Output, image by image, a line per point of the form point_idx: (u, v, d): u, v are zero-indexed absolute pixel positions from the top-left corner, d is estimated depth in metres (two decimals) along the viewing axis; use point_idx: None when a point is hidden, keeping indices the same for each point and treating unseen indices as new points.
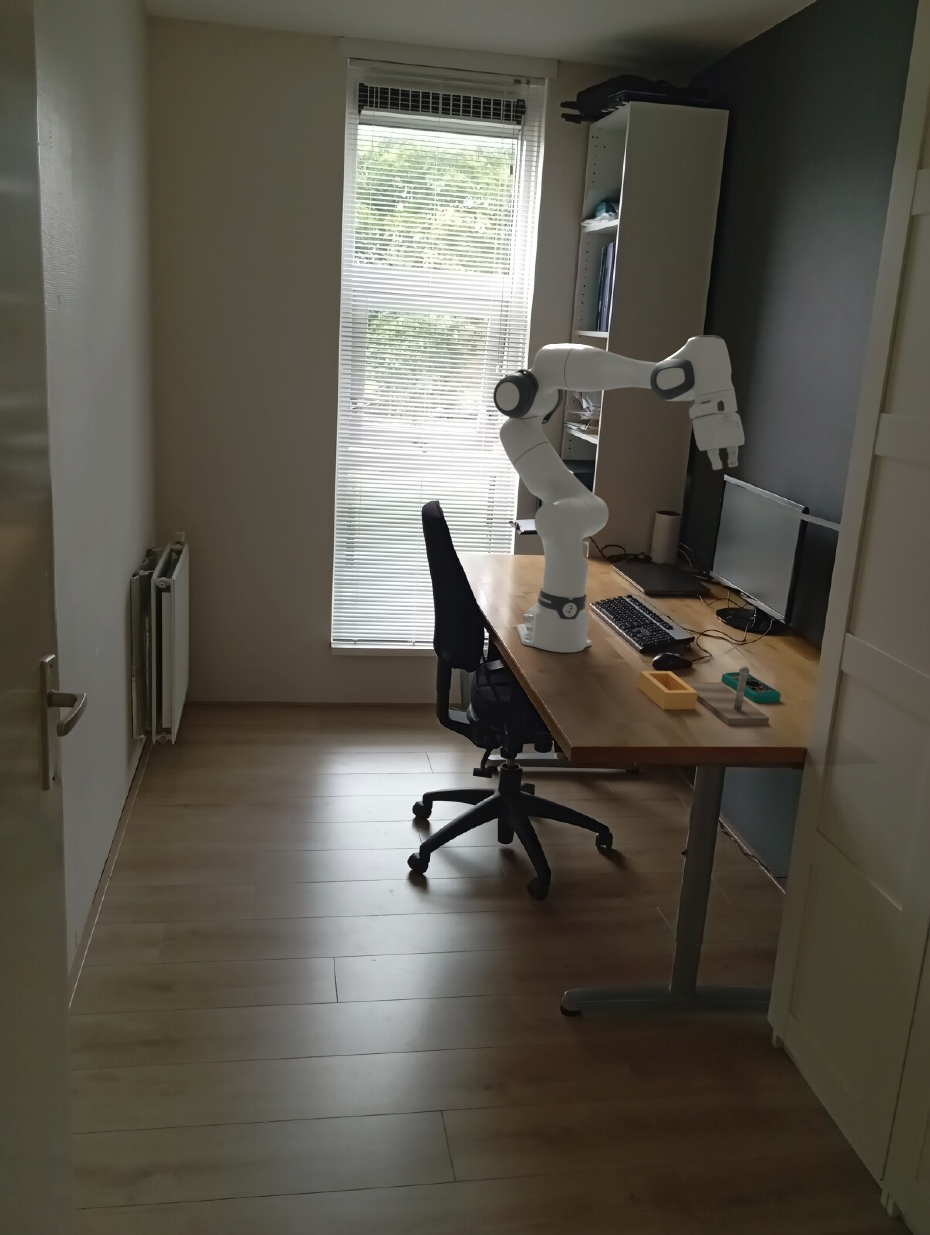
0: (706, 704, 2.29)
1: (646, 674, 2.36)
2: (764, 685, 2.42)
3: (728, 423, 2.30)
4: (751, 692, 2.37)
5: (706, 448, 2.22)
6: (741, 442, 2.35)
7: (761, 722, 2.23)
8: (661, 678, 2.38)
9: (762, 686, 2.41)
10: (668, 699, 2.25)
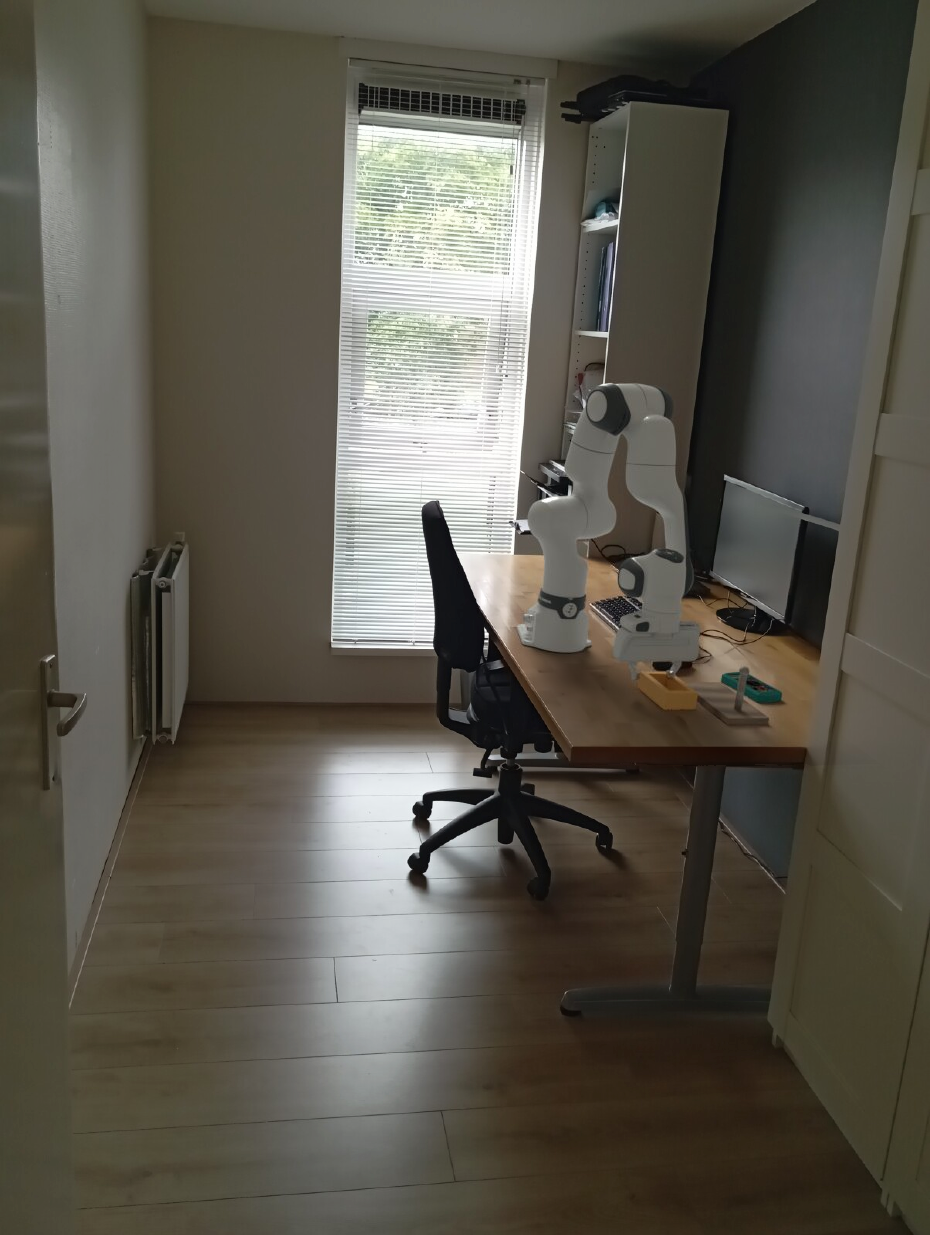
0: (706, 704, 2.29)
1: (646, 674, 2.36)
2: (765, 685, 2.42)
3: (667, 640, 2.31)
4: (754, 692, 2.37)
5: (617, 659, 2.30)
6: (687, 659, 2.33)
7: (761, 722, 2.23)
8: (661, 678, 2.38)
9: (763, 686, 2.42)
10: (669, 699, 2.25)
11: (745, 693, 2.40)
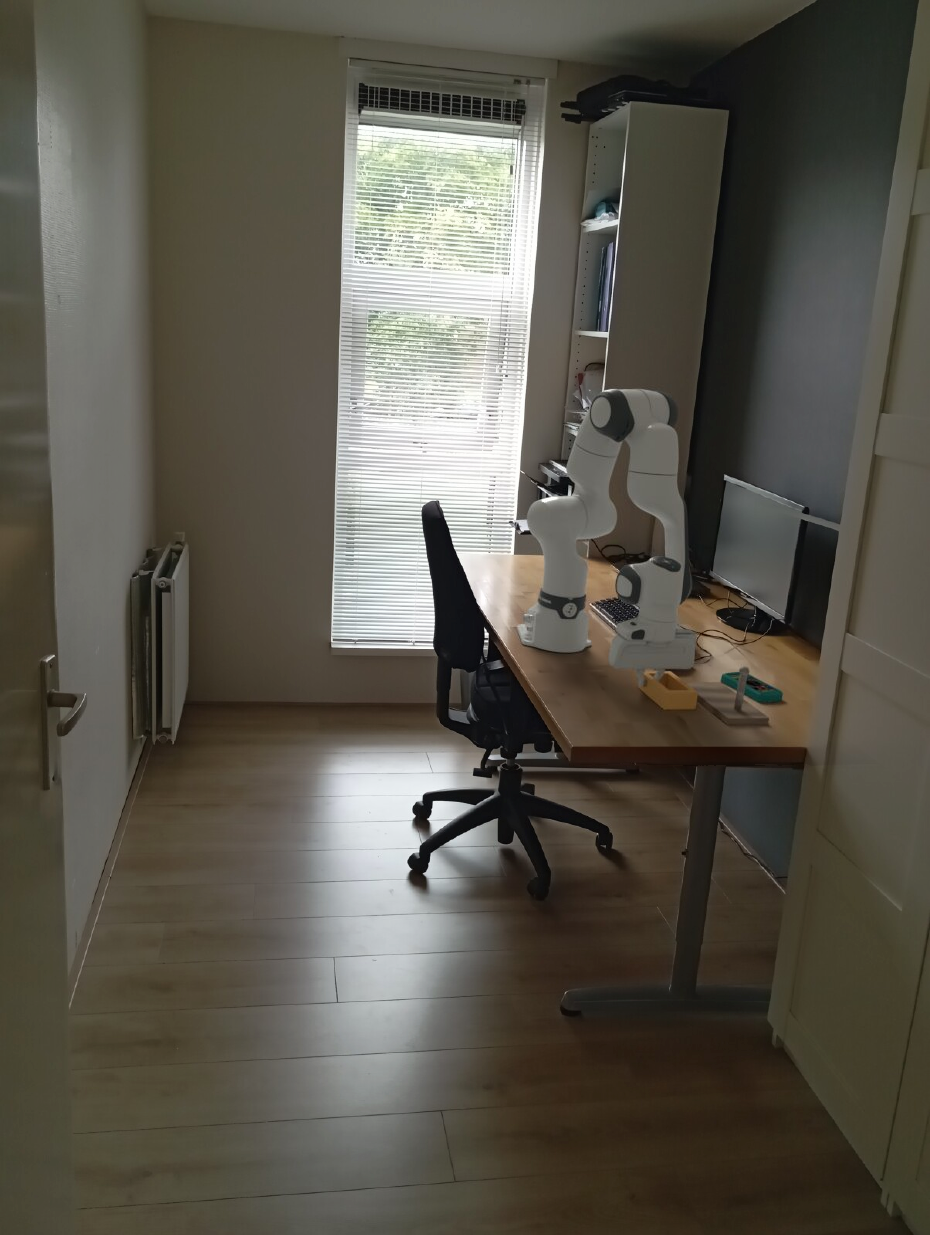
0: (706, 704, 2.29)
1: (646, 674, 2.36)
2: (765, 684, 2.43)
3: (663, 648, 2.32)
4: (755, 692, 2.37)
5: (612, 666, 2.31)
6: (683, 667, 2.34)
7: (761, 722, 2.23)
8: (661, 678, 2.38)
9: (763, 685, 2.42)
10: (668, 699, 2.26)
11: (746, 693, 2.40)
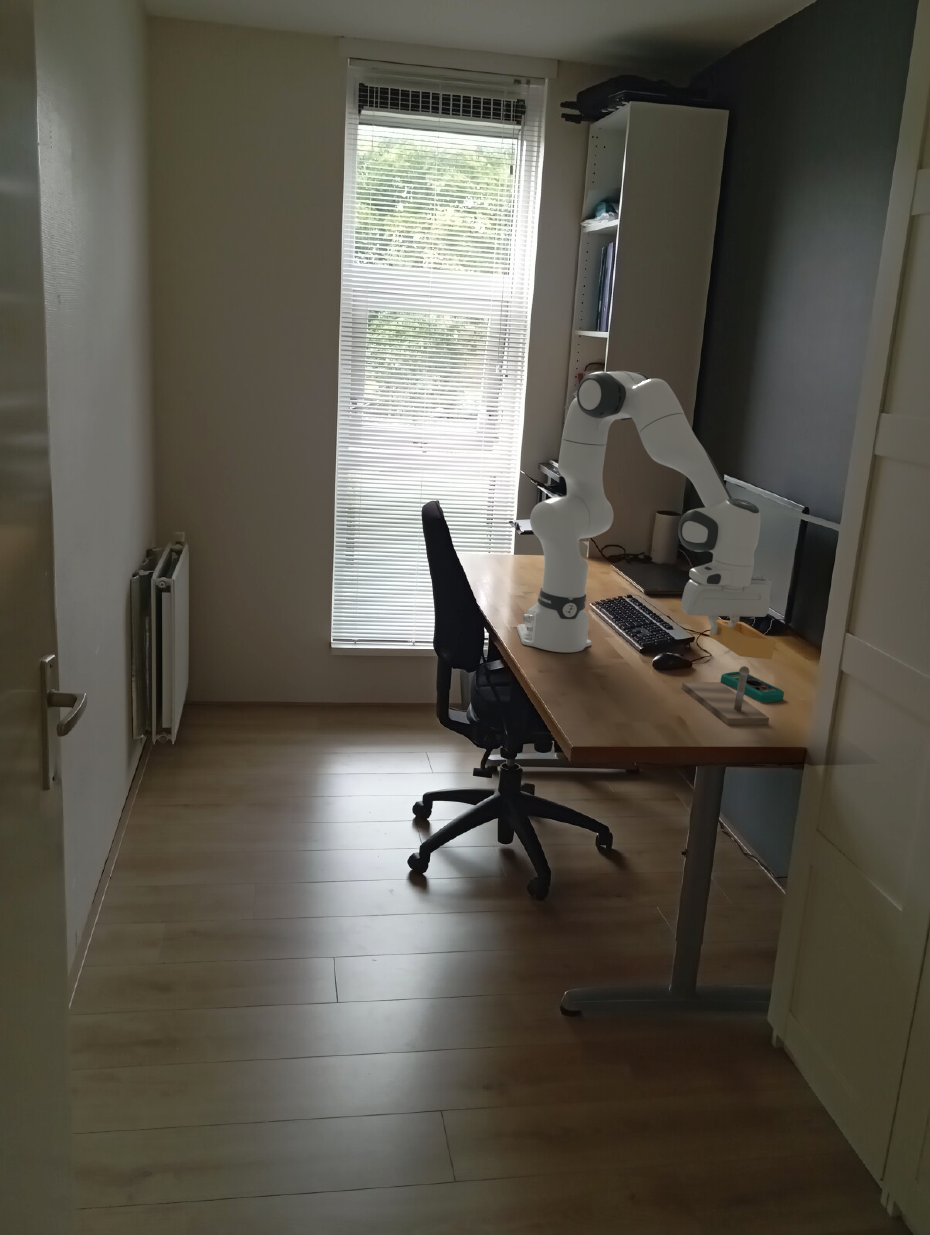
0: (706, 704, 2.29)
1: (720, 622, 2.27)
2: (765, 684, 2.43)
3: (738, 594, 2.23)
4: (757, 692, 2.37)
5: (685, 612, 2.23)
6: (758, 614, 2.26)
7: (761, 722, 2.23)
8: (734, 628, 2.30)
9: (764, 685, 2.42)
10: (746, 646, 2.17)
11: (747, 693, 2.40)
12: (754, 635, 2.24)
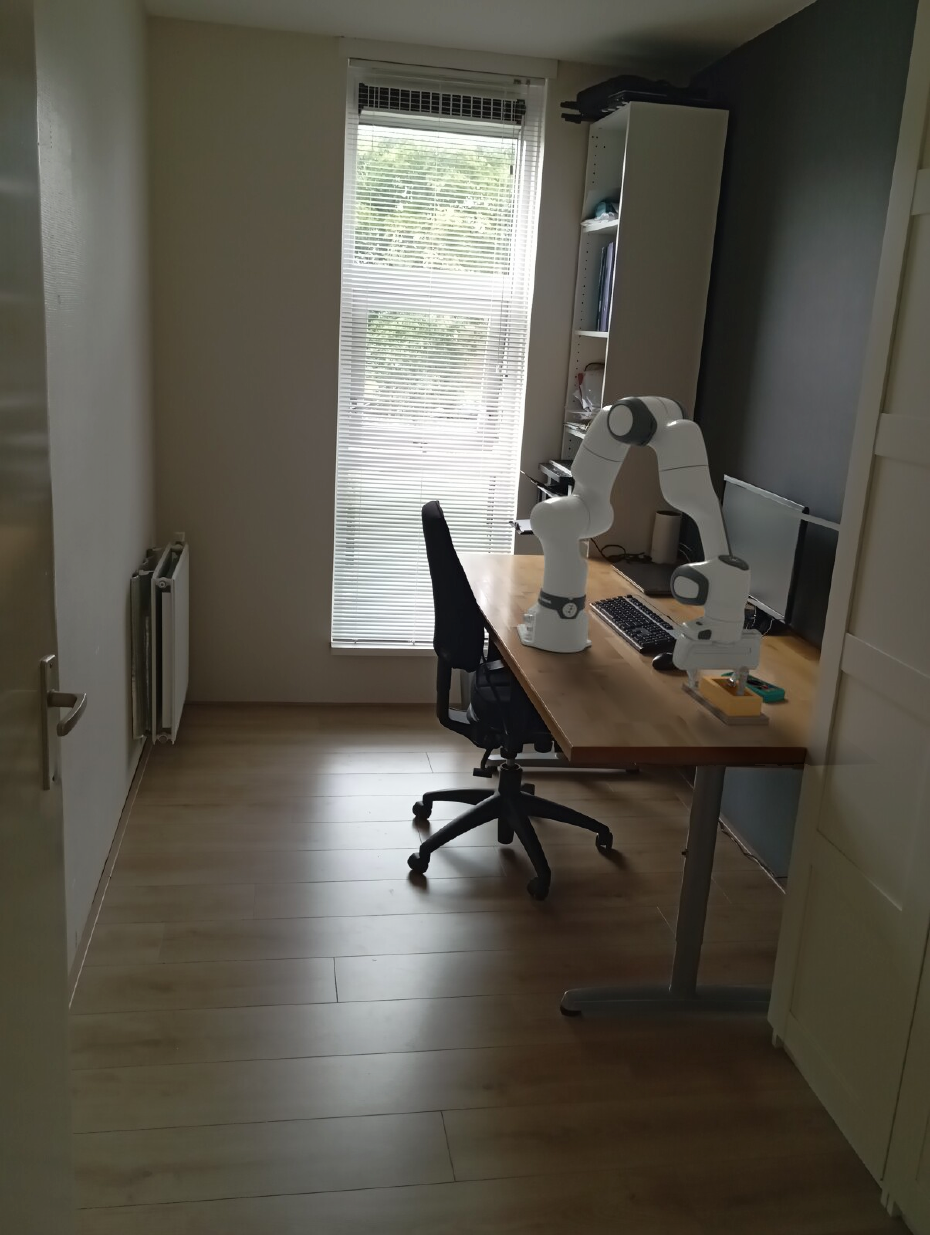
0: (706, 704, 2.29)
1: (708, 679, 2.31)
2: (766, 683, 2.43)
3: (729, 648, 2.27)
4: (760, 692, 2.38)
5: (676, 666, 2.27)
6: None
7: (761, 722, 2.23)
8: (723, 683, 2.34)
9: (765, 684, 2.43)
10: (733, 705, 2.21)
11: None
12: None
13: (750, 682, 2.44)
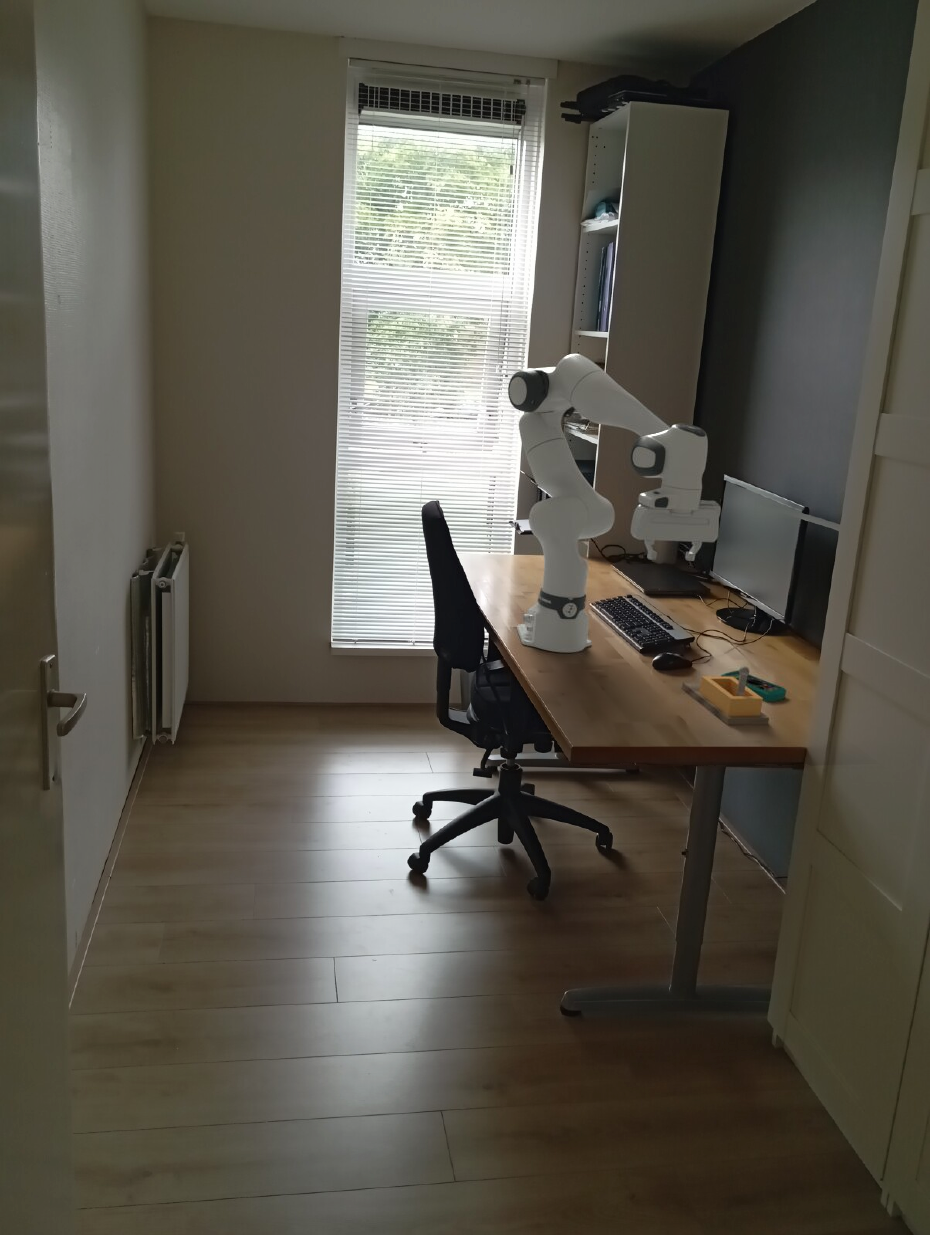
0: (706, 704, 2.29)
1: (708, 679, 2.31)
2: (766, 682, 2.44)
3: (687, 518, 2.26)
4: (762, 692, 2.38)
5: None
6: (707, 540, 2.29)
7: (761, 722, 2.23)
8: (723, 683, 2.34)
9: (765, 684, 2.43)
10: (733, 705, 2.21)
11: None
12: None
13: (750, 682, 2.44)
